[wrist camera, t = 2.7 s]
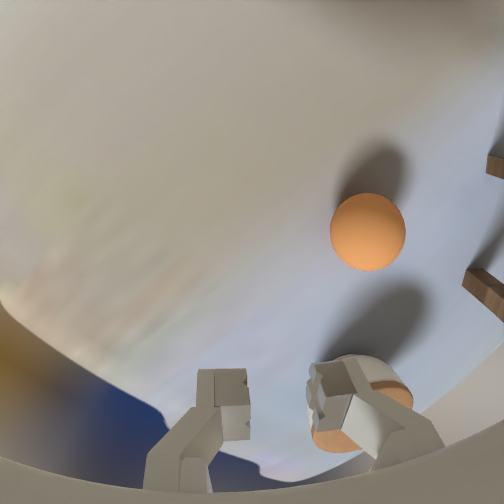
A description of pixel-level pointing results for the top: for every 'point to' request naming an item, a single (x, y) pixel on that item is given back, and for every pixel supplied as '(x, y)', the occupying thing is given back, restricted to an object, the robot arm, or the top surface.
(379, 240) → the ball
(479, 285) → the bridge
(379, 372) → the lidded jar
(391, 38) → the top surface
